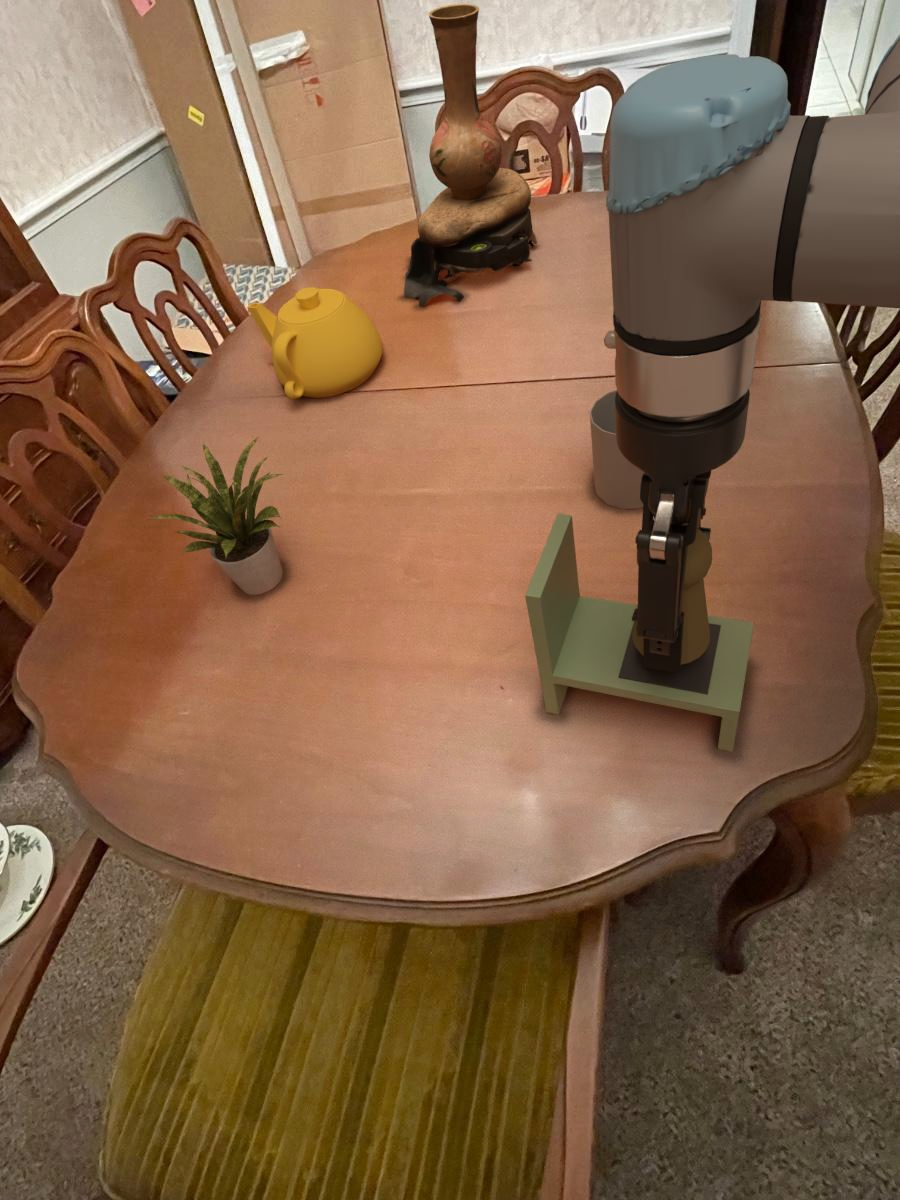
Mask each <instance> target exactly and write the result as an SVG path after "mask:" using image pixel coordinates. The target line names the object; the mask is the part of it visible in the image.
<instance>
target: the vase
mask: <svg viewBox="0 0 900 1200" xmlns="http://www.w3.org/2000/svg"><path fill="white" fill-rule="evenodd" d="M479 12H480V7H479V6H477V5H476V4H471V3H456V4H455V3H454V4H448V5H444V6H443V5H442V6H439V7H436V8H434V9H432V10H431V11H429V13H428V17H429V20H430V24H431V25H432V29H433V34H434V40H435V45H436V50H437V53H438V61H439V66H440V72H441V79H442V87H443V94H444V116H443V119H442V122H441V123H440V125H439V127H438V128H437V130H436V132H435V133H434V134H433V136H432V139H431V142H430V146H429V153H428V154H429V155H428V157H429V163H430V166H431V169H432V172H433V174H434V176H435V177H436V179H437V180H438V182H440V183H441V184H442V185H444V186H445V187H446V188H445V189H443V190H442V191H441V192H440V193H439V194H438V195H437V196H436V197H435V198H434V199H433V200H432V201H431V202H430V204H429V205H428V206H427V207H426V208H425V210H424V211H423V212H422V214H421V216H420V217H419V220H418V223H417V235H418V237H417V238H416V239H415V240H413V242H411V245H410V261H409V265H408V268H407V271H406V272H405V276H404V278H405V279H404V287H403V293H404V294H403V297H404V298H405V299H414V300H416V298H418V307H419V308H420V307H422V308H423V307H424V306H425V305H426V304H427V302H428V301H430V300H432V299H433V298H436V297H438V296H440V295H448V296H449V295H450V296H451V297H454V298H455V299H456V301H457V302H458V303H460V302H461V301H462V300H464V298H465V296H464V294H463V293H462V292H460V291H458V290H456V289H452V288H449V287H448V286H450V285H451V284H452V283H454V281H452V282H451V283H448V282H447V281H446V280H445V279H450V278H456V276H457V275H458V274H460V273H467V274H468V273H470V274H477V273H482V272H485V271H486V270H488V269H490V270H491V271H492V272H496V273H497V272H498V271H501V270H502V269H505V268H506V267H508V266H509V265H511V266H512V267H513V268H515V267H521V266H522V265H523V264H524V263H530V262H532V261H533V259H532V258H531V257H530V254H531V253H530V247H532V248H533V247H535V245H537V244H538V239H537V237H536V234H535V233H534V231H533V221H532V214H531V209H530V206H531V203H532V190H531V188H530V185H529V184H528V182H527V180H526V179H525V177H523V176H522V175H521V174H520V173H519V172H517V171H515V170H513V169H510V168H505V167H501V164H502V156H503V147H502V143H501V139H500V137H499V134H498V133H497V131H496V129H494V127H493V126H492V125H491V124H490V123H489V121H487V120H486V119H485V117H484V116H483V115H482V113H481V110H480V107H479V101H478V92H477V38H478V19H479ZM444 270H446V271H447V272H446V273H447V274H446V275H445V276H444V279H439V277H440V273H441V272H442V271H444ZM458 279H459V277H457V278H456V279H455V281H457V280H458Z"/></svg>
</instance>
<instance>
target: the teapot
mask: <svg viewBox="0 0 900 1200" xmlns="http://www.w3.org/2000/svg"><path fill="white" fill-rule="evenodd" d="M246 308H247V310H248V312H249V314H250V315H251V317H252V318H253V320H254V322H255V324H257V327H258V329H259V330H260V332H261V333H262V335H263V336H264V337H263V338H264V339H265V340H266V342H267V343H268V345H269V346H270V349H271V358H272V366H273V369H274V373H275V375H276V378H277V380H278V381H279V382H280V383H281V385H282V386H283V387H284V394H285V396H286V397H287V398H289V399H290V400H297V399H299V398H301V397H302V396H304V397H307V398H329V397H334V396H338V395H341V394H344V393H347V392H349V391H351V390H353V389H356V388H357V387H359V386H360V385H361V384H363V383H365V382H366V381H367V380H368V379H369V378H370V377H371V376H372V374H373V373H374V372H375V370H376V368H377V367H378V365H379V363H380V361H381V358H382V356H383V351H384V344H383V340H382V337H381V335H380V332H379V330H378V329H377V327H376V324H375V323H374V322H373V320H372V318H370V317H369V315H368V314H367V313H366V312H365V311H364V310H363V309H362V308H361V307H360V306H359V305H358V304H357V303H356V302H355V301H354V300H352V299H351V298H350V297H349V296H347V295H346V294H344V293H343V292H341V291H340V290H337V289H334V288H318V287H316V286H308V287H304V288H301V289H299V290H298V291H297V292H296V293H295V295H294V296H293V297H292V298H290V299H288V301H286V302H285V303H284V304H283V305H282V306H281V308H280V309H279V310H278V313H277V316H276V314H274V313H273V312H272V311H270V310H269V309H268V308H267V307H265V306H264V305H263V303H262V302H254V301H253V302H251V303H250V304H249V305H248V306H247V307H246Z"/></svg>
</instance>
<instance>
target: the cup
mask: <svg viewBox="0 0 900 1200" xmlns="http://www.w3.org/2000/svg"><path fill="white" fill-rule="evenodd" d="M616 392H617V389H615V390H612V391H608V392H606V393H605V394H603V395H602V396H601V397H599V398H598V399H596V400H595V401H594V403H593V405H592V407H591V408H590V410H589V422H590V424H589V425H590V438H591V453H592V454H591V455H592V468H593V484H594V488H595V493H596V497H598V498H599V499H601V501H603V502H604V503H605V504H606V505H609V506H612V507H615V508H617V509H621V510H629V509H630V510H639V509H643V503H642V501H641V500H640V488H641V480H642V475H643V473H645V472H643V471H642V470H640V469H639V468H637V467H636V466H634V465H633V464H631V463H630V462H629V461H628V460H627V459H626V458H625V457H624V456H623V455H622V453H621V452H620V450H619V448H618V445H617V441H616V416H615V396H616Z"/></svg>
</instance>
